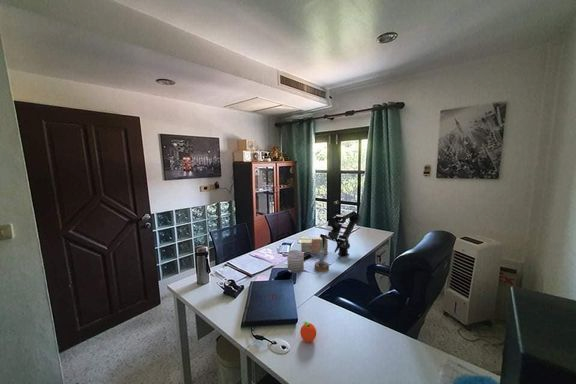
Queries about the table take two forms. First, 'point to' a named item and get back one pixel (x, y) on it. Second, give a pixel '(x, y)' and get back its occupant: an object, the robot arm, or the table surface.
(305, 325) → the clementine
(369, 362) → the table surface
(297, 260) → the can
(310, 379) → the table surface
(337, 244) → the robot arm
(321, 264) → the peg
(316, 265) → the brown ring
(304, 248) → the stack of blocks
